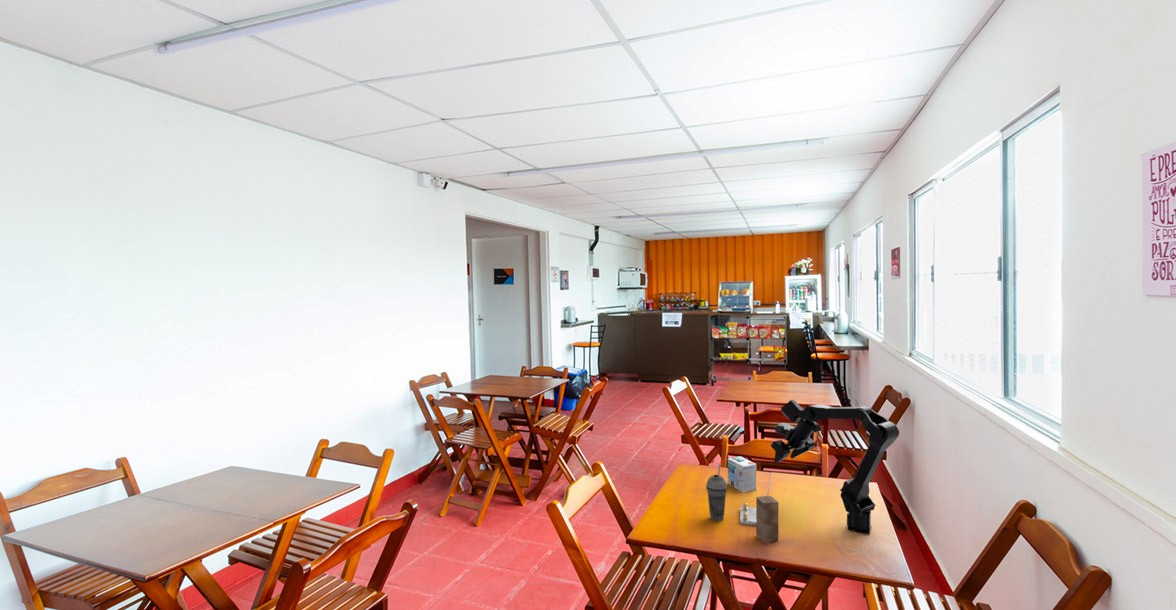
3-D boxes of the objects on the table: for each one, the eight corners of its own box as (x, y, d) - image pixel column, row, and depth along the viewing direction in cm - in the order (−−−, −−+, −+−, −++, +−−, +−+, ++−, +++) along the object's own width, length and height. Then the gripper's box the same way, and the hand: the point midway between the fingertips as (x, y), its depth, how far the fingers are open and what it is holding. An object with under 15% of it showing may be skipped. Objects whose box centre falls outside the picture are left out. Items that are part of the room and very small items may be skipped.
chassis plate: (774, 512, 192) (774, 504, 192) (776, 527, 181) (776, 518, 180) (740, 509, 196) (740, 500, 195) (740, 523, 184) (740, 514, 184)
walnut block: (770, 534, 176) (770, 495, 176) (778, 541, 171) (778, 501, 171) (756, 535, 175) (756, 496, 175) (764, 543, 171) (763, 503, 170)
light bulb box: (727, 483, 220) (726, 458, 220) (740, 481, 223) (740, 455, 222) (743, 493, 210) (743, 466, 210) (757, 490, 213) (757, 463, 212)
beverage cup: (710, 512, 193) (709, 458, 192) (730, 516, 190) (729, 461, 189) (703, 520, 187) (703, 464, 186) (724, 525, 183) (723, 468, 182)
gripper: (803, 412, 207) (784, 440, 215) (770, 419, 197) (752, 448, 205) (824, 433, 199) (804, 461, 207) (791, 442, 190) (772, 471, 198)
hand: (783, 459), depth 204 cm, fingers open, 9 cm apart
